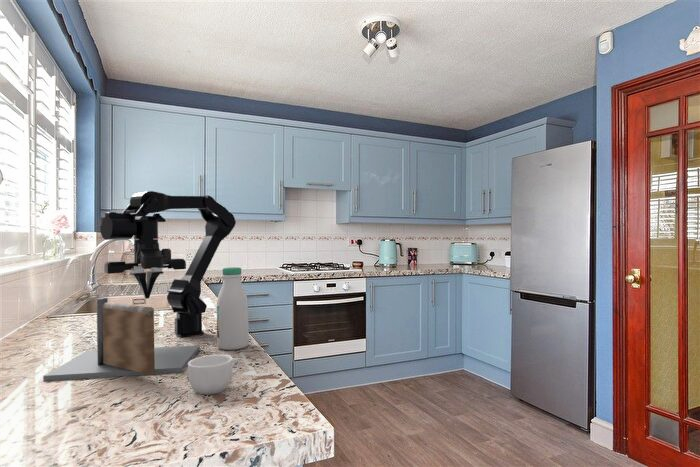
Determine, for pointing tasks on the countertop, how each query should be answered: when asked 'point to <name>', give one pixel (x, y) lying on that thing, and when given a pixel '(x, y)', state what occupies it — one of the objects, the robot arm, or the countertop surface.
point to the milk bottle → (232, 312)
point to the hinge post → (100, 329)
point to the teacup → (211, 373)
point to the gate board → (89, 368)
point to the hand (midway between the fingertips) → (147, 298)
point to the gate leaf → (128, 337)
